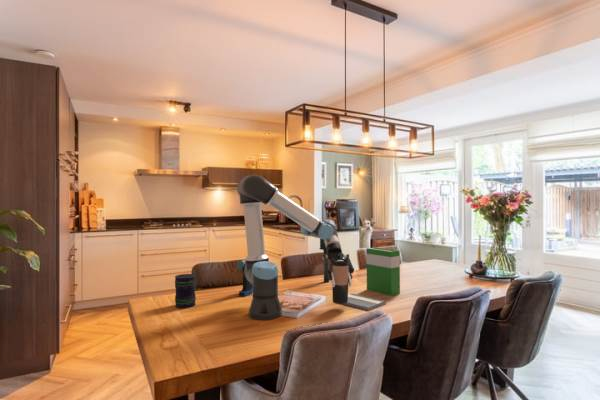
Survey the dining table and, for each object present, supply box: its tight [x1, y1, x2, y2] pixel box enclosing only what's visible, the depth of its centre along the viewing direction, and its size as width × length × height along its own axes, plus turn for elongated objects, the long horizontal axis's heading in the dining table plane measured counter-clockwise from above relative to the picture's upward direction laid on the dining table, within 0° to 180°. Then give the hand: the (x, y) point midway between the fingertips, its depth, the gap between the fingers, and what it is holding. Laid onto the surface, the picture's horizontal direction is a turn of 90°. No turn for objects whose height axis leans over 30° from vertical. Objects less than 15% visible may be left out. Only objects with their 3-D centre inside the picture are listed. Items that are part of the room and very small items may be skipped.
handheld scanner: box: [236, 259, 253, 297], centre depth 198 cm, size 5×16×20 cm, turn 152°
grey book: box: [343, 293, 386, 312], centre depth 178 cm, size 15×21×2 cm
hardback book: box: [365, 246, 401, 297], centre depth 200 cm, size 18×7×24 cm, turn 38°
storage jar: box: [174, 273, 197, 310], centre depth 176 cm, size 10×10×15 cm
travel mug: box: [331, 258, 349, 305], centre depth 168 cm, size 8×8×20 cm
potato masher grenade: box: [319, 238, 330, 283], centre depth 225 cm, size 8×9×30 cm
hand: (342, 285), depth 165 cm, fingers closed on travel mug, 7 cm apart
